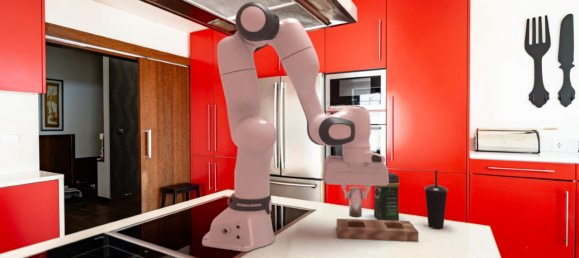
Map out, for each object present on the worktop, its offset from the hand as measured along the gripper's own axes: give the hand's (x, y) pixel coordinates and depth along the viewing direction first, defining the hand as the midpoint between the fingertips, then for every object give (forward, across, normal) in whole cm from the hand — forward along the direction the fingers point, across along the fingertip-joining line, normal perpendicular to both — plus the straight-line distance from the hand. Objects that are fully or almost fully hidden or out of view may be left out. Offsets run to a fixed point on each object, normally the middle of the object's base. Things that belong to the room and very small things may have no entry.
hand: (355, 198), depth 98 cm
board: (+12, +6, 0) cm, 14 cm away
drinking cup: (+12, +29, +12) cm, 34 cm away
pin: (+6, 0, 0) cm, 6 cm away
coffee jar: (+12, +13, +17) cm, 25 cm away
